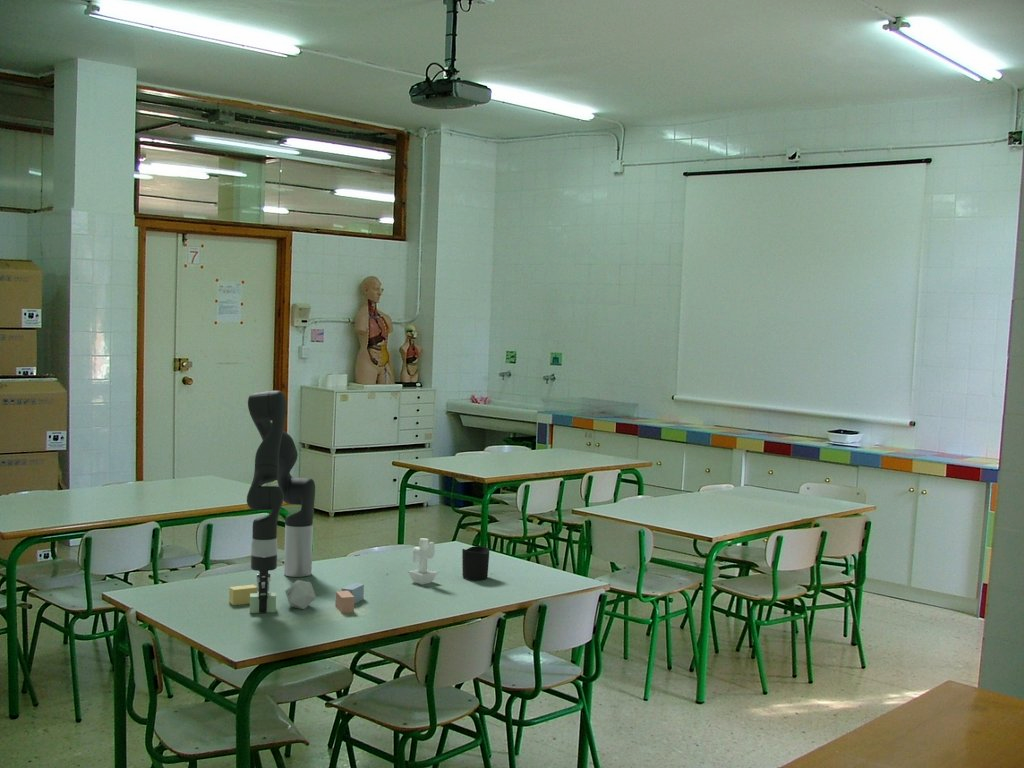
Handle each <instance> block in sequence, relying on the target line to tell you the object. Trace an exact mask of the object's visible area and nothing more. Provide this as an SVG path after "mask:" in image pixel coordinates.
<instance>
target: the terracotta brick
mask: <svg viewBox="0 0 1024 768" xmlns="http://www.w3.org/2000/svg"><path fill="white" fill-rule="evenodd" d="M334 605H335V606H334V607H335V608H336V609H337V610H338V611H339V612H340V613H341V614H350V613H355V604H354V596H353V595H352V594H351V593H350V592H349V591H341V590H338V591H335V603H334Z"/></svg>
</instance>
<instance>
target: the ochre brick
mask: <svg viewBox="0 0 1024 768" xmlns="http://www.w3.org/2000/svg"><path fill="white" fill-rule="evenodd" d="M228 590H229V591H228V594H229V595H228V596H229V597H228V603H229V604H231V605H232V606H237V605H240V606H241V605H247V604H250V593H258V591H257V585H255V584H246V585H236V586H229V589H228Z"/></svg>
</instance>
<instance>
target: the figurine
mask: <svg viewBox="0 0 1024 768" xmlns="http://www.w3.org/2000/svg"><path fill="white" fill-rule="evenodd" d="M434 556H435V542H433V541H430V542H429V539H428V538H426V537H425V538H424V537H423V538H419V542H418V546H414V547H413V549H412V562H413V563H418V569H417V568H416V569H413V570H408V571H407V573H408V574H409V576H410V579H411V580H412V582H413V583H415V584H418V585H423V586H424V585H428V584H432V583H433V582H434V580H435V578H436V576H437V575H438V574H439V572H438V571H435V570H431V569H429V568H428V559H433V558H434Z"/></svg>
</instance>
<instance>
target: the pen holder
mask: <svg viewBox="0 0 1024 768" xmlns="http://www.w3.org/2000/svg"><path fill="white" fill-rule="evenodd" d="M461 554H462V555H461V556H462V558H461V559H462V561H461V562H462V578H463V579H465V580H469V581H484V580H487V578H488V574H489V563H490V562H489V561H490V548H488V547H486V546H478V545H475V546H471V547H468V548H466V549H465V548H462V552H461Z"/></svg>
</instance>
